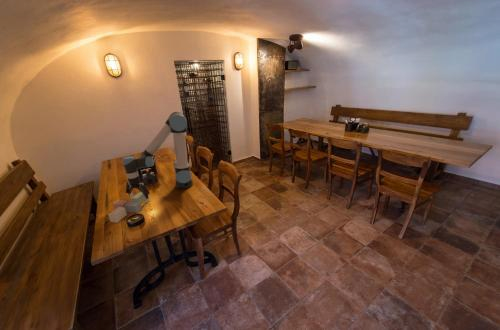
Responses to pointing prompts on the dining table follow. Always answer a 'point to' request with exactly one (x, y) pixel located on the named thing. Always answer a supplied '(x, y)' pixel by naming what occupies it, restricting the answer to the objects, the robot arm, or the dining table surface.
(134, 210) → the slate brick
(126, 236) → the dining table surface
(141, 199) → the green brick
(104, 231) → the dining table surface
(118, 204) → the terracotta brick
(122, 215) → the cream brick
